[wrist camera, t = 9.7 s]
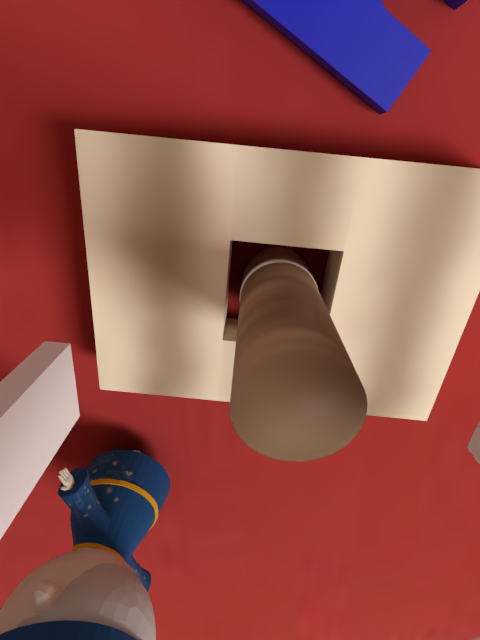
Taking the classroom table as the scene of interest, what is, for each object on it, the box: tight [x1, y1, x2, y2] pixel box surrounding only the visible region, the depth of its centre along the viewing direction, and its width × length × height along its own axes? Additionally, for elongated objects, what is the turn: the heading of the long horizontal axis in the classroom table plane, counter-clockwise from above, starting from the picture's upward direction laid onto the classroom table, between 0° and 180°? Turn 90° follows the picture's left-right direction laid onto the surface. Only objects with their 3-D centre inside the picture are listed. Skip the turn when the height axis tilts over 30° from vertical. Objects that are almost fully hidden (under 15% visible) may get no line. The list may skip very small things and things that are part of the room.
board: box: [74, 129, 480, 421], centre depth 20 cm, size 20×14×3 cm
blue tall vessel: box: [0, 450, 170, 640], centre depth 19 cm, size 13×9×20 cm
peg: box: [230, 247, 367, 462], centre depth 16 cm, size 4×4×12 cm
